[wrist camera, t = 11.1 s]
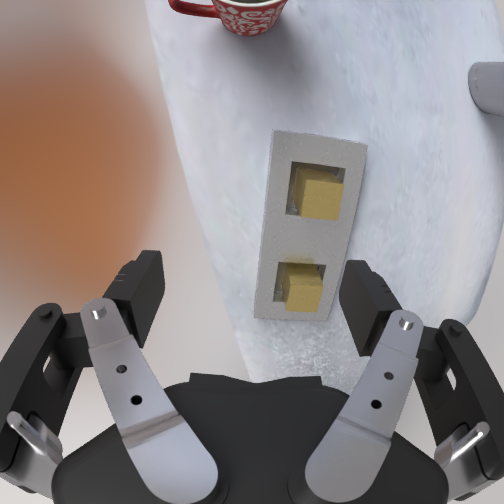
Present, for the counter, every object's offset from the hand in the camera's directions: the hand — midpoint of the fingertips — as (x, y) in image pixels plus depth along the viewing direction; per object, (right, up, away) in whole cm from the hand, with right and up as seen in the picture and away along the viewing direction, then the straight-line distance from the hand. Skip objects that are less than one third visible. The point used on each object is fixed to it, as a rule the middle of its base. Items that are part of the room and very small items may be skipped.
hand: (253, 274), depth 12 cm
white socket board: (+7, +4, +29) cm, 30 cm away
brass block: (+7, -2, +32) cm, 33 cm away
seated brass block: (+8, +10, +26) cm, 29 cm away
